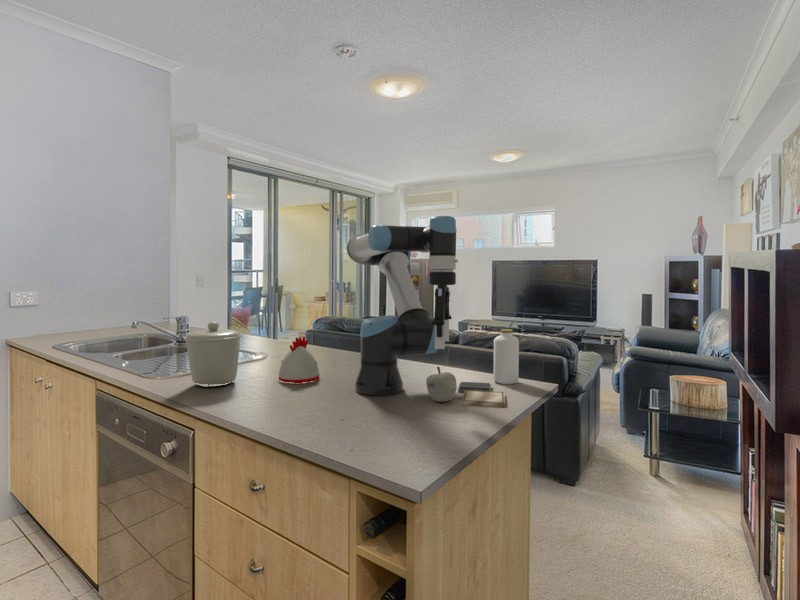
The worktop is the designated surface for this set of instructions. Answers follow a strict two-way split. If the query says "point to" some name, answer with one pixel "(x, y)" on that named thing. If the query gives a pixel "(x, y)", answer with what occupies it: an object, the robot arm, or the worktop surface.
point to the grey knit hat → (299, 364)
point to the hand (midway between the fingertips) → (442, 344)
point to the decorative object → (441, 386)
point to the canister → (213, 354)
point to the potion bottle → (506, 358)
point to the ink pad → (474, 386)
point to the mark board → (483, 398)
